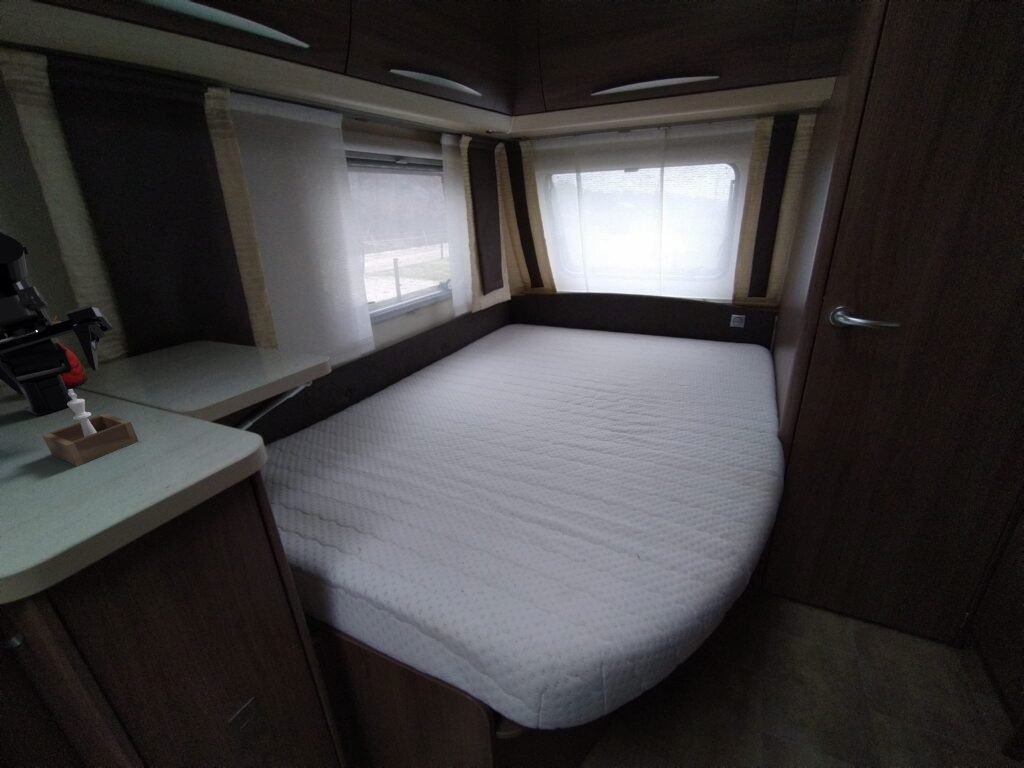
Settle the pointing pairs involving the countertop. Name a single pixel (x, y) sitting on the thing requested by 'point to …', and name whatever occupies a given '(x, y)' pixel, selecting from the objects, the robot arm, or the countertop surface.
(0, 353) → the robot arm
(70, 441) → the walnut collar
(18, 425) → the countertop surface
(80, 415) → the chess piece
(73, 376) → the red clay folk toy
